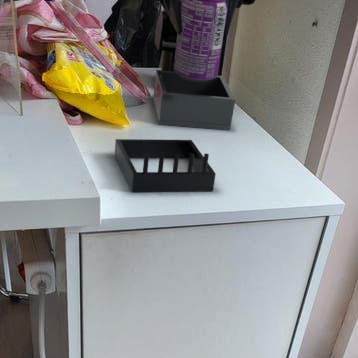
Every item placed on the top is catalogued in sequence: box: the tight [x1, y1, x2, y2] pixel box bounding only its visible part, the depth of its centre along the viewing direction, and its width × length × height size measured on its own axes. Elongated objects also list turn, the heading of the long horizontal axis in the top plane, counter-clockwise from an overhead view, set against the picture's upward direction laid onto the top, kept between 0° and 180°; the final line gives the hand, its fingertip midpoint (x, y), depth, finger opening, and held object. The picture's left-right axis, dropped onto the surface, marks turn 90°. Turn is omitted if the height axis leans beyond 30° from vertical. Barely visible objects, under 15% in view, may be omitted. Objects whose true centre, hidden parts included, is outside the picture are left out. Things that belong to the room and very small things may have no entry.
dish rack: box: [114, 138, 217, 193], centre depth 88 cm, size 11×11×5 cm
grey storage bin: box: [152, 69, 236, 131], centre depth 107 cm, size 12×12×5 cm
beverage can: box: [174, 0, 227, 82], centre depth 100 cm, size 7×7×12 cm
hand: (202, 34), depth 99 cm, fingers closed on beverage can, 7 cm apart
